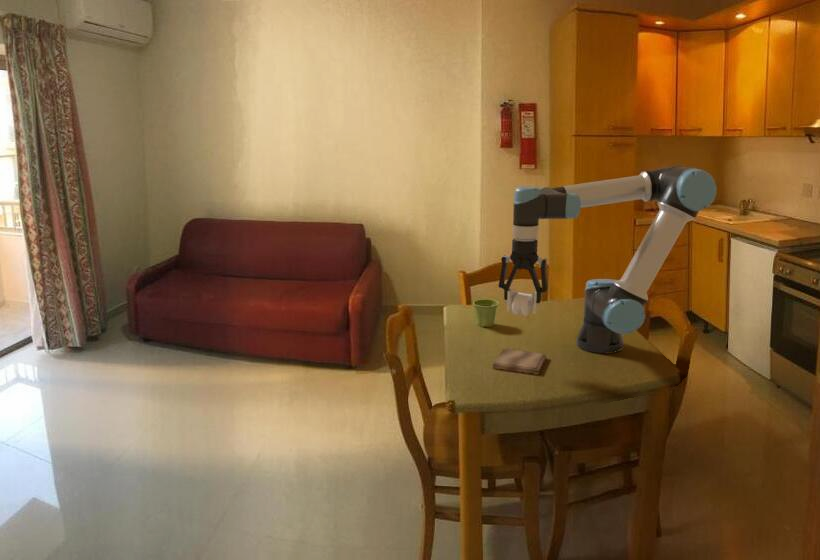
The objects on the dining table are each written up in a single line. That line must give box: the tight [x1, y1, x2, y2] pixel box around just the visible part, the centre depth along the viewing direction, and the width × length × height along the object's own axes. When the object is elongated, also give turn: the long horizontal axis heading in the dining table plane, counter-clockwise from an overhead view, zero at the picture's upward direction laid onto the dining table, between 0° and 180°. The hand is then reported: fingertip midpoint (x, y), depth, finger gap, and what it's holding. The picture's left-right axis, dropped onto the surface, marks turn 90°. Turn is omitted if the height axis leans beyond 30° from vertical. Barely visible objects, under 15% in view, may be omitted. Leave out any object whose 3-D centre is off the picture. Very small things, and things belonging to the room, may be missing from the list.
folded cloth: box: [492, 348, 547, 374], centre depth 199 cm, size 14×14×2 cm
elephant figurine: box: [509, 288, 535, 317], centre depth 194 cm, size 8×10×7 cm
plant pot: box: [472, 298, 500, 328], centre depth 235 cm, size 9×9×9 cm
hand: (521, 311), depth 195 cm, fingers closed on elephant figurine, 7 cm apart
